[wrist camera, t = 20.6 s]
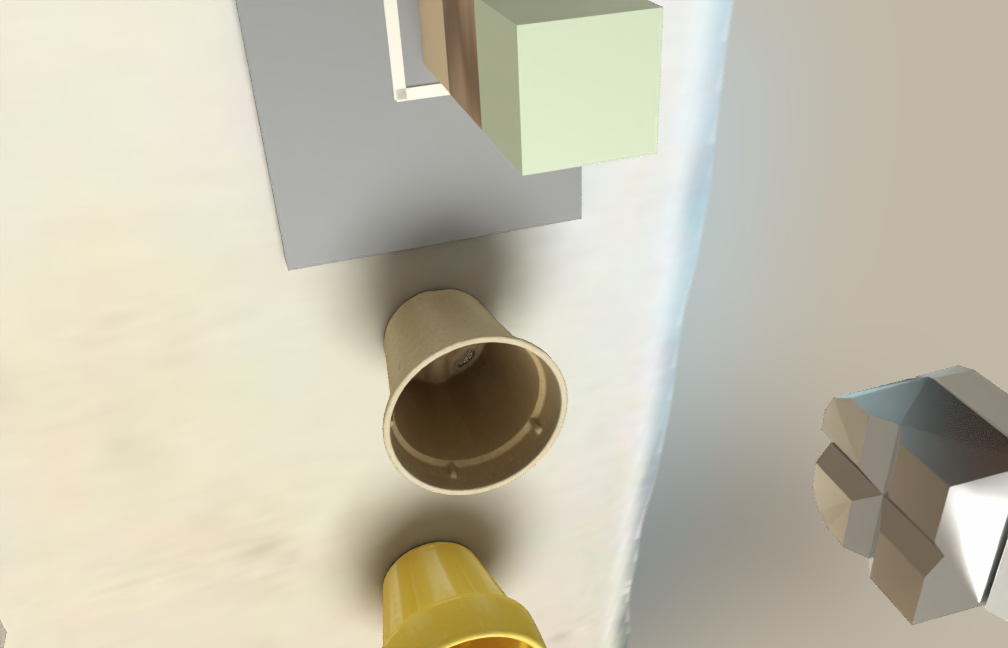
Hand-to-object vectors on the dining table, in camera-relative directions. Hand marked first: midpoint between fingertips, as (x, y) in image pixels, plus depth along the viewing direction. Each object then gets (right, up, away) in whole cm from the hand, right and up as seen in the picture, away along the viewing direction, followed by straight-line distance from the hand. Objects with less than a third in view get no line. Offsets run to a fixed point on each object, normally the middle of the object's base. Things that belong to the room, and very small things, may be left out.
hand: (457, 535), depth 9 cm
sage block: (+2, +12, +25) cm, 28 cm away
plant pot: (-4, -15, +53) cm, 55 cm away
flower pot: (-3, +2, +43) cm, 43 cm away
